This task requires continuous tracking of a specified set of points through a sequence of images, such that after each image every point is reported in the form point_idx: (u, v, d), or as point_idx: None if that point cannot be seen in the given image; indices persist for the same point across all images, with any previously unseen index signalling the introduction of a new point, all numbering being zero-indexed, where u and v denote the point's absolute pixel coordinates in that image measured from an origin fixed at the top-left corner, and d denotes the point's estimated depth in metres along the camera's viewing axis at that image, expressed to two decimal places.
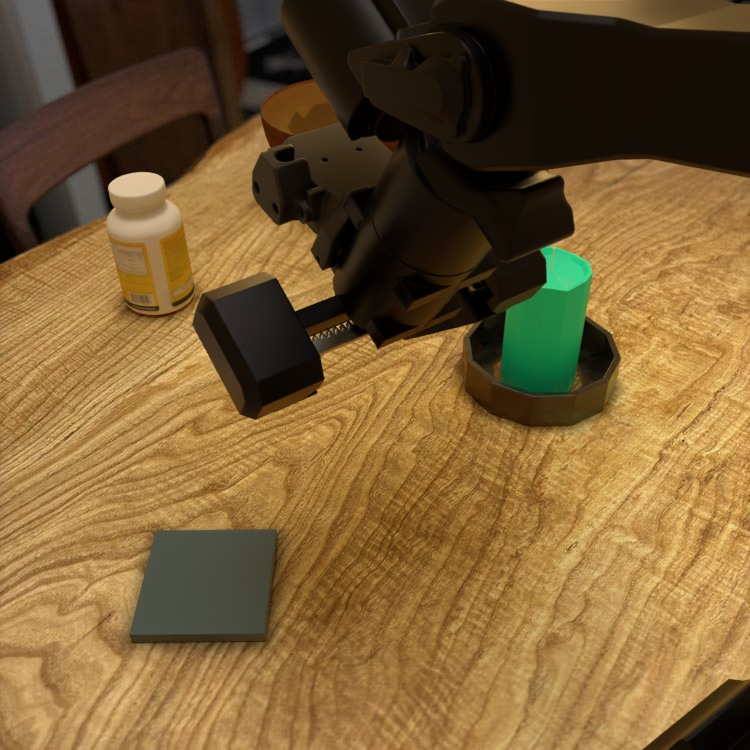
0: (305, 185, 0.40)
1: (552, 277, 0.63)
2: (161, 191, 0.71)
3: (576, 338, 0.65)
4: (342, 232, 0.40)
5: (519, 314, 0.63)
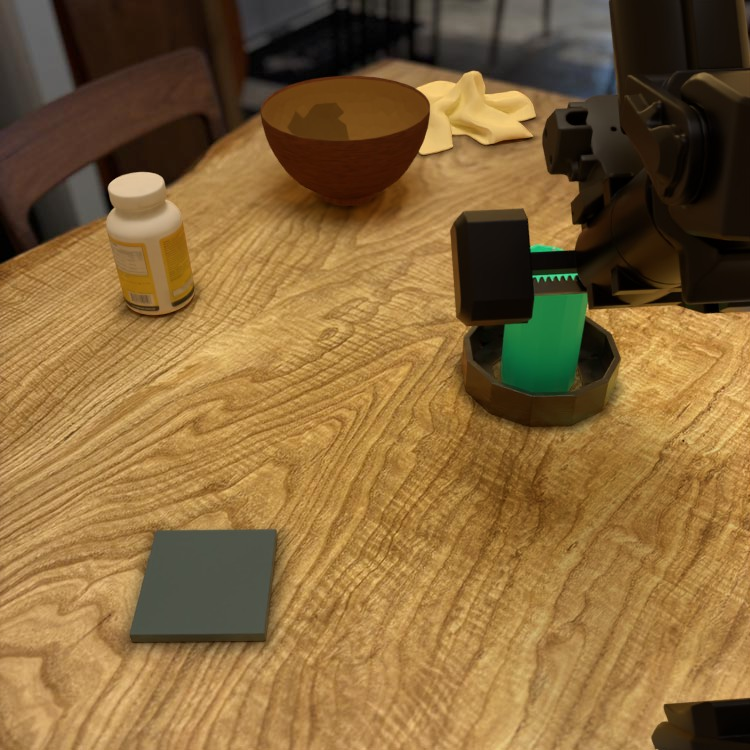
0: (583, 149, 0.44)
1: (552, 277, 0.63)
2: (161, 191, 0.71)
3: (576, 338, 0.65)
4: (596, 202, 0.44)
5: None
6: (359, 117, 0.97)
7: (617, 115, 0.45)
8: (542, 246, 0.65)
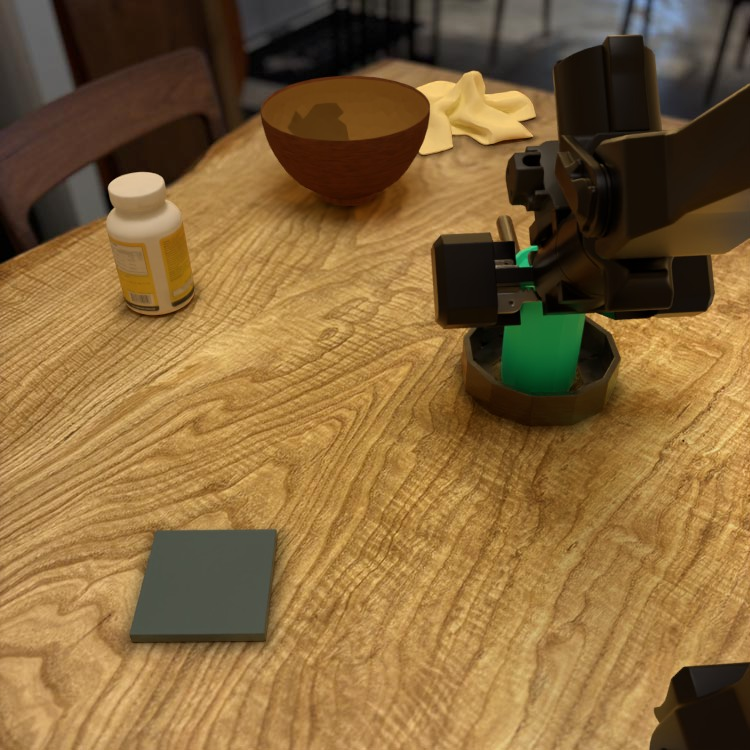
0: (537, 185, 0.55)
1: None
2: (161, 191, 0.71)
3: (576, 338, 0.65)
4: (547, 228, 0.54)
5: None
6: (359, 117, 0.97)
7: None
8: None
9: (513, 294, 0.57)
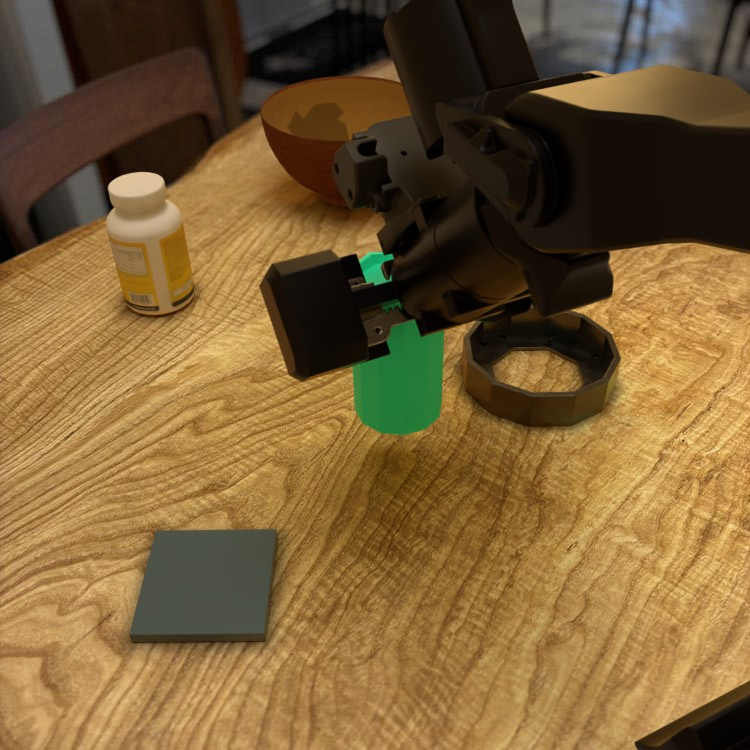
0: (381, 179, 0.43)
1: None
2: (161, 191, 0.71)
3: (441, 352, 0.54)
4: (407, 230, 0.43)
5: None
6: (359, 117, 0.97)
7: (403, 139, 0.44)
8: (376, 253, 0.54)
9: (377, 319, 0.45)
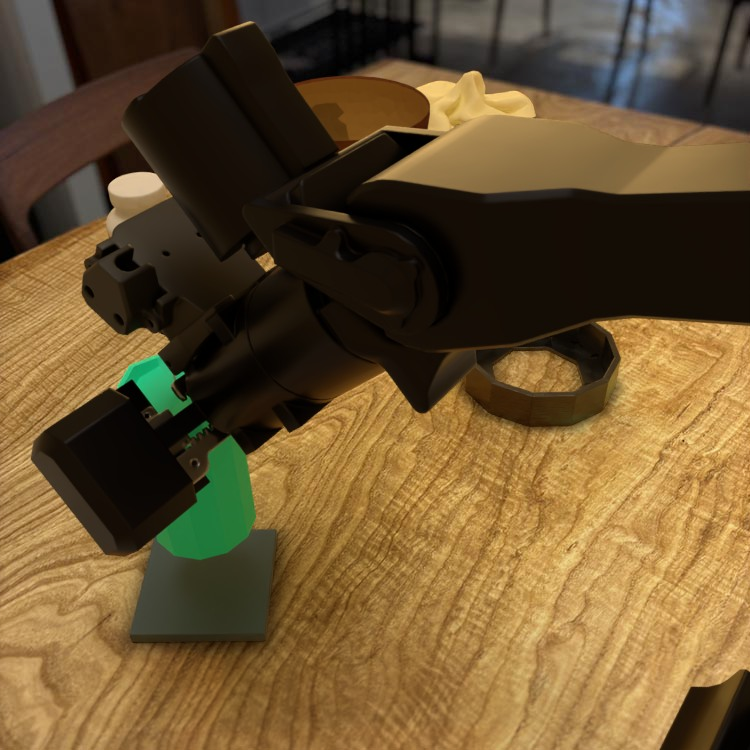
0: (153, 292, 0.35)
1: (187, 396, 0.44)
2: (161, 191, 0.71)
3: None
4: (203, 343, 0.36)
5: None
6: (359, 117, 0.97)
7: (158, 236, 0.37)
8: (139, 364, 0.45)
9: (190, 451, 0.38)
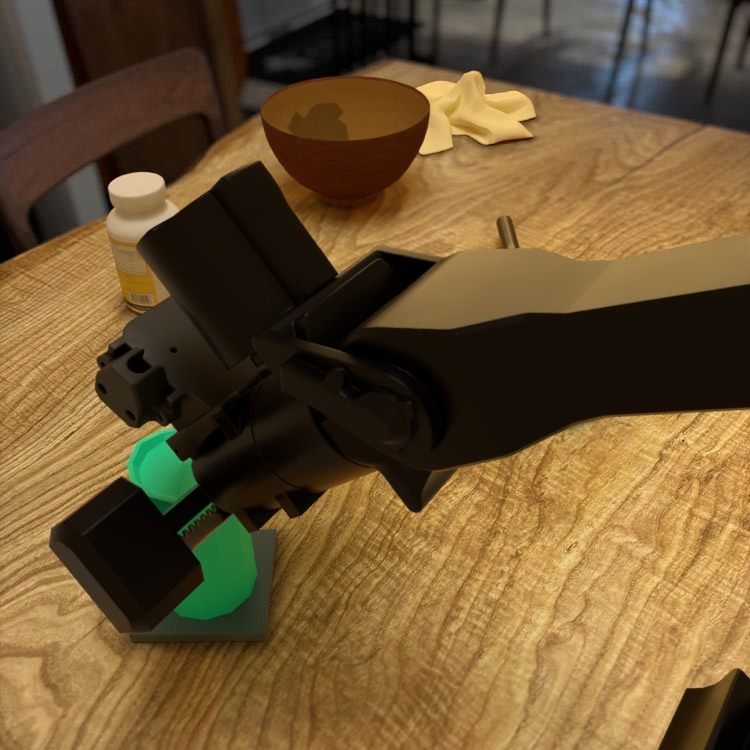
0: (163, 389, 0.38)
1: None
2: (161, 191, 0.71)
3: None
4: (209, 435, 0.38)
5: None
6: (359, 117, 0.97)
7: (165, 333, 0.39)
8: (146, 440, 0.48)
9: None
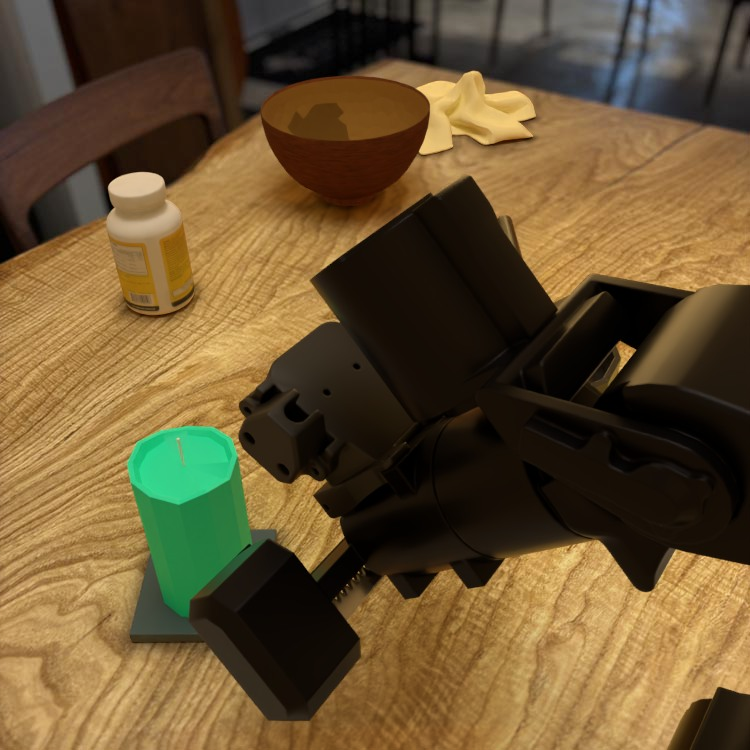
0: (320, 439, 0.33)
1: (194, 471, 0.46)
2: (161, 191, 0.71)
3: None
4: None
5: (181, 538, 0.46)
6: (359, 117, 0.97)
7: (316, 372, 0.34)
8: (146, 440, 0.48)
9: None
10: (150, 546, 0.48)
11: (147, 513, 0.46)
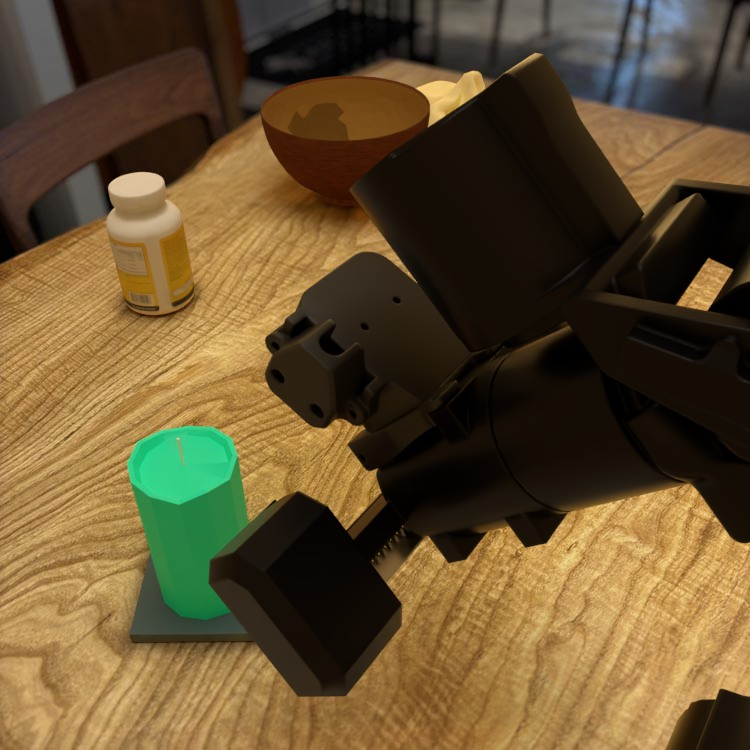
0: (359, 377, 0.29)
1: (194, 471, 0.46)
2: (161, 191, 0.71)
3: None
4: (416, 437, 0.29)
5: (181, 538, 0.46)
6: (359, 117, 0.97)
7: (352, 305, 0.30)
8: (146, 440, 0.48)
9: None
10: (150, 546, 0.48)
11: (147, 513, 0.46)
